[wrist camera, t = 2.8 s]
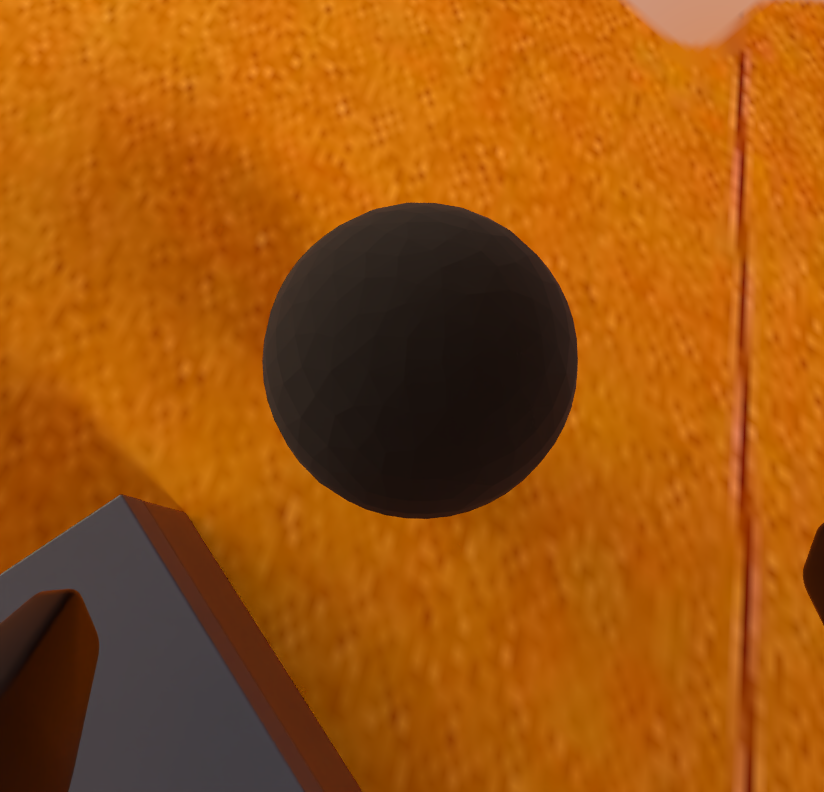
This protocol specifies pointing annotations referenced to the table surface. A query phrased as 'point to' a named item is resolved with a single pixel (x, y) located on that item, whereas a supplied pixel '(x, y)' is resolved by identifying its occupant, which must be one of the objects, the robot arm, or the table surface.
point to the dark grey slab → (175, 665)
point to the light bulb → (420, 360)
